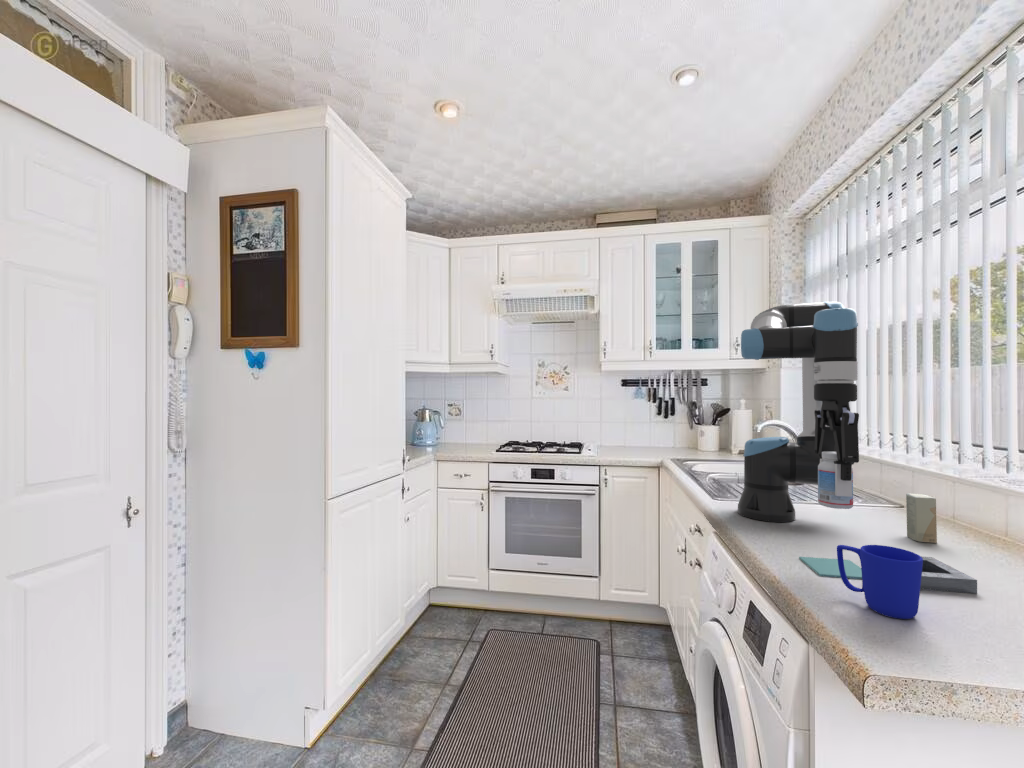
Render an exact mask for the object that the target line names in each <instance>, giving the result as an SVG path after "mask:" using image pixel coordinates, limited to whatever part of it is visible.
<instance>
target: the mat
mask: <svg viewBox="0 0 1024 768" xmlns="http://www.w3.org/2000/svg"><path fill="white" fill-rule="evenodd" d="M798 558H799V560H800V561H802V562H803V563H804V564H805V565H806V566H808V567H809V568H810V569H811V570H813V572H815V573H816V574H817V575H818V576H819V577H827V578H828V577H829V578H840V579H841V576H840V572H839V566H838V559H837V558H829V557H828V558H826V557H825V558H824V557H812V556H811V557H810V556H798ZM843 561H844V568H845V573H846V576H847V579H855V580H862V570H861V566H859V565H858V564H856V563H854V562H853V561H852V560H850V559H843Z"/></svg>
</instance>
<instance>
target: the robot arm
mask: <svg viewBox="0 0 1024 768" xmlns="http://www.w3.org/2000/svg"><path fill="white" fill-rule="evenodd" d="M857 314H858V313H857V311H856V310H855V309H854V308H850V307H845V306H844V305H843V303H841V302H840V301H822V302H810V303H797V304H796V303H794V304H781V305H778V306H773V307H771V308H769V309H766V310H763V311H761V312H760V313H758V314H757V315H756V316H755V317H754V318H753V319H752V321H751V323H750V328H749V329H744V330H742V331H741V334H740V354H741V357H742V358H743V359H744V360H755V361H759V360H771V359H773V360H776V359H801V364H802V365H801V367H802V368H801V371H802V372H801V373H802V374H801V375H802V376H801V377H802V383H801V384H802V432H800V433H799V434H798V435H797V436H796V442H790V440H789V438H788V437H787V436H770V437H769V436H767V437H758V438H751V439H749V440H747V441H746V442H745V443H744V448H743V449H744V450H743V457H744V459H743V460H744V461H743V462H744V468H743V469H744V470H743V473H744V474H743V481H744V482H743V483H744V485H743V490H742V492H741V496H740V498H739V501H738V503H737V513H738V515H740V516H743V517H745V518H748V519H752V520H757V521H761V522H762V521H763V522H772V523H788V522H794V521H795V520H796V509H795V507H794V504H793V501H792V498H791V495H790V492H789V483H793V484H804V485H805V484H806V485H813V486H814V485H815V486H818V465H819V464H820V463H821V462H823V459H822V452H824V451H833V452H836V453H837V460H838V461H837V460H836V461H834V464H835V495H836V496H847V497H852V469H853V465H854V464H855V463H856V464H857V463H859V462H860V454H859V453H860V450H859V449H860V448H859V429H858V428H859V427H858V424H859V418H860V414H859V412H852V411H851V407H850V402H856V401H857V400H858V384H856V383H855V382H857V381H858V358H857V357H858V356H857V355H858V353H857V352H858V349H857V348H858V327H859V323H858V319H857V317H858V316H857Z"/></svg>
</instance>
